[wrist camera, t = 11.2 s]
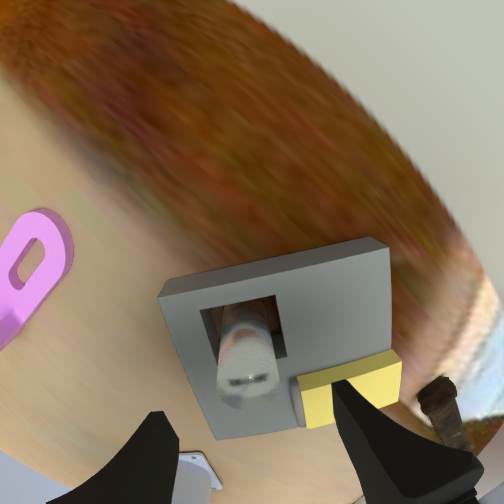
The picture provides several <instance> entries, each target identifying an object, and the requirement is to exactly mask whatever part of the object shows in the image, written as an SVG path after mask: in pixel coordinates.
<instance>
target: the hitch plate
mask: <svg viewBox="0 0 504 504" xmlns="http://www.w3.org/2000/svg"><path fill="white" fill-rule="evenodd" d="M271 295H274V298H275V303H276V308H277V313H278V318H279V323H280V328H281V334H277V335H272V336H271V338H272V343H273V348H274V353H275V359H276V364H277V369H278V374H279V379H280V385H281V388H280V392H279V395H278V396H277V398H276V399H275V400H274V401H273V402H272V403H271V404H269V405H268V406H266V407H263V408H261V409H257V410H239V409H235V408H232V407H230V406H228V405H226V404H225V403H224V402H223V401H222V400H221V399H220V398H219V396H218V394H217V391H216V383H217V372H218V360H219V349H220V341H219V338H218V335H217V332H216V328H215V325H214V322H213V318H212V315H211V312H210V308H213V307H218V306H223V305H228V304H233V303H238V302H243V301H248V300H252V299H257V298H262V297H267V296H271ZM157 299H158V302H159V305H160V307H161V310H162V313H163V316H164V319H165V322H166V324H167V327H168V330H169V332H170V335H171V338H172V340H173V343H174V346H175V348H176V351H177V353H178V356H179V358H180V361H181V363H182V366H183V368H184V371H185V373H186V375H187V378H188V380H189V383H190V385H191V387H192V390H193V392H194V394H195V396H196V399H197V401H198V403H199V405H200V408H201V410H202V412H203V414H204V416H205V418H206V421H207V423H208V425H209V427H210V429H211V431H212V433H213V435H214V437H215V439H216V440H224V439H232V438H240V437H247V436H253V435H260V434H266V433H271V432H277V431H282V430H287V429H292V428H296V427H300V426H298V425H297V421H296V416H295V411H294V405H293V400H292V395H291V390H290V383H291V382H292V381H294V380H297V376H301V375H305V374H309V373H313V372H317V371H321V370H325V369H329V368H332V367H336V366H339V365H343V364H346V363H350V362H353V361H356V360H360V359H363V358H366V357H369V356H372V355H376V354H379V353H382V352H385V351H388V350H390V349H391V323H392V309H391V272H390V255H389V247H387V246H386V245H384V244H382V243H380V242H379V241H377V240H375V239H373V238H372V237H370V236H369V237H364V238H360V239H355V240H351V241H346V242H342V243H337V244H333V245H328V246H324V247H319V248H315V249H310V250H306V251H301V252H296V253H292V254H287V255H283V256H278V257H273V258H269V259H264V260H260V261H255V262H250V263H246V264H241V265H236V266H232V267H227V268H222V269H217V270H213V271H208V272H203V273H198V274H194V275H189V276H184V277H179V278H174V279H170V280H167V282H166V284H165V285H164V287H163V289H162V291H161V292H160V294H159V296H158V297H157Z"/></svg>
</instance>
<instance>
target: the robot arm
mask: <svg viewBox="0 0 504 504" xmlns="http://www.w3.org/2000/svg"><path fill="white" fill-rule="evenodd" d="M331 388H332V401H333V415H334V418H335V421H336V425H337V428H338V431H339V434H340V437H341V439H342V441H343V443H344V446H345V448H346V450H347V452H348V455H349V457H350V459H351V461H352V464H353V466H354V468H355V470H356V473H357V475H358V478H359V481H360V484H361V487H362V491H363V494H364V497H365V501H366V504H504V482H503V483H501V484H500V485H499V486H497V487H496V488H494V489H493V490H492V491H490V492H489V493H487V494H486V495H484V496H483V497H482V498H481V499H479V500H477V499H476V497H475V496H476V495H477V491H476V490H475V488H474V486H475V485H476V484H477V482H478V481H479V479H480V478H481V476H482V475H483V473H484V467H483V465H482V464H481V462H480V461H479V460H478V459H477V457H476V456H475V455H474V454H473V453H472V452H468V451H464V450H459V449H455V448H451V447H448V446H444V445H441V444H438V443H436V442H434V441H431V440H429V439H426V438H424V437H422V436H419V435H417V434H415V433H414V432H412V431H410V430H408V429H406V428H404V427H403V426H401V425H399V424H398V423H396V422H395V421H393V420H392V419H390V418H389V417H388V416H386V415H385V414H384V413H382V412H381V411H380V410H378V409H377V408H376V407H375V406H374V405H372V404H371V403H370V402H369V401H368V400H367V399H366V398H364V397H363V396H362V395H361V394H360V393H359V392H358V391H357V390H356V389H355V388H354V387H353V386H352V385H351V383H350V382H349V381H348V380H346V379H343V380H340V381H336V382H332V383H331ZM222 489H223V485H222V484H221V482H220V481H219V479H218V478H217V476H216V474H215V473H214V471H213V470H212V468H211V466H210V465H209V463H208V461H207V460H206V458H205V456H204V455H203V454H202V453H200V452H194V453H179V438H178V436H177V435H176V433H175V431H174V430H173V428H172V426H171V424H170V423H169V421H168V419H167V417H166V416H165V414H164V412H163V411H156V412H150V413H149V414H148V416H147V417H146V418H145V420H144V421H143V422H142V424H141V425H140V426H139V428H138V429H137V430H136V431H135V433H134V434H133V435H132V436H131V438H130V439H129V440H128V442H127V443H126V444H125V445H124V446H123V447H122V449H121V450H120V451H119V452H118V453H117V454H116V455H115V456H114V457H113V459H112V460H111V461H110V462H109V463H108V464H107V465H105V466H104V467H103V468H102V469H101V470H100V471H99V472H98V473H96V474H95V475H94V476H92V477H91V478H90V479H88V480H87V481H86V482H84V483H83V484H81V485H80V486H78V487H77V488H75V489H73V490H72V491H70V492H68V493H66V494H64V495H62V496H60V497H58V498H56V499H53V500H51V501H48V502H46V504H210V499H211V491H212V490H222Z"/></svg>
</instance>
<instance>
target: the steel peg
mask: <svg viewBox="0 0 504 504" xmlns="http://www.w3.org/2000/svg"><path fill="white" fill-rule="evenodd" d="M280 388H281V385H280V379H279V374H278V369H277V364H276V359H275V353H274V348H273V343H272V338H271V333H270V328H269V323H268V317H267V312H266V308H265V305H264V304H263V302H262V301H261V300H260V299H259V298H257V299H252V300H248V301H243V302H238V303H233V304H228V305H225V306H224V309H223V317H222V327H221V338H220V349H219V360H218V372H217V383H216V391H217V394H218V396H219V398H220V399H221V400H222V401H223V402H224V403H225V404H226V405H228V406H230V407H232V408H235V409H239V410H257V409H261V408H263V407H266V406H268V405H269V404H271V403H272V402H273V401H274V400H275V399H276V398H277V396H278V395H279V392H280Z"/></svg>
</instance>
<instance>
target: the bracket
mask: <svg viewBox="0 0 504 504" xmlns="http://www.w3.org/2000/svg"><path fill="white" fill-rule="evenodd" d="M37 238H38V239H39V240H41V242H42V243H43V245H44V247H45V258H44V260H43V261H42V262H41V264H40V265H39V266H38V268H37V269H36V270H35V272H34V273H33V274H32V276H31V277H30V279H29V280H28V281H27V283H26V284H23V283H22V282H21V281H20V279H19V278H18V275H17V267H18V265H19V264H20V262H21V261H22V259H23V258H24V256H25V255H26V253H27V252H28V250H29V249H30V248H31V246H32V245H33V243H34V242H35V241H36V239H37ZM73 256H74V247H73V241H72V237H71V234H70V231H69V229H68V227H67V225H66V224H65V222H64V221H63V220H62V219H61V218H60V217H59V216H58V215H57V214H56V213H54V212H52V211H50V210H46V209H39V210H35V211H32V212H28V213H26V214H24V215H22V216H21V217H20V218H19V219H18V220H17V222H16V223H15V225H14V226H13V228H12V229H11V231H10V233H9V234H8V236H7V237H6V239H5V241H4V242H3V244H2V246H1V248H0V352H1V351H2V350H3V349H4V348H5V347H6V346H7V345H8V344H9V343H10V342H11V341H12V340H13V339H14V338H15V337H16V336H17V335H18V334H19V333H20V331H21V330H22V329H23V327H24V326H25V324H26V323H27V322H28V321H29V319H30V318H31V317H32V315H33V314H34V313H35V311H36V310H37V309H38V308H39V306H40V305H41V304H42V303H43V301H44V300H45V299H46V298H47V296H48V295H49V294H50V293H51V292H52V290H53V289H54V288H55V287H56V286H57V284H58V283H59V282H60V281H61V280H62V278H63V277H64V276H65V275H66V274H67V273H68V271H69V269H70V267H71V265H72V262H73Z"/></svg>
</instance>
